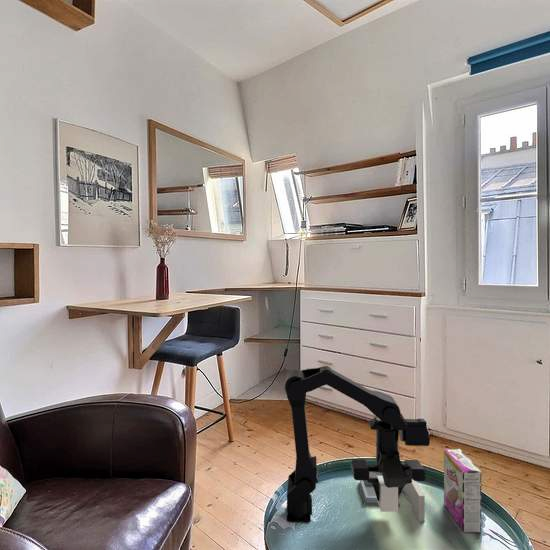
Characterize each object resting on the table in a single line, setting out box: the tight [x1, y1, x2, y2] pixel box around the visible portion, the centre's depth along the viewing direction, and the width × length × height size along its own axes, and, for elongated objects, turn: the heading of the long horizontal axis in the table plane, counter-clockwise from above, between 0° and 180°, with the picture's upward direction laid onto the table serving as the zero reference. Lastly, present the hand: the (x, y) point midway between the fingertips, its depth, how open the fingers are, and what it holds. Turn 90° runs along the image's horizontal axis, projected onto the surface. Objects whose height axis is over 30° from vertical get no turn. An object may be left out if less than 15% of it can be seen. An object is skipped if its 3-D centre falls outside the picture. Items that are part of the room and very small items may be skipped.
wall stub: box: [402, 479, 426, 522], centre depth 105 cm, size 2×15×7 cm, turn 177°
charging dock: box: [358, 480, 401, 507], centre depth 109 cm, size 10×10×2 cm
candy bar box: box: [443, 448, 482, 534], centre depth 98 cm, size 11×5×16 cm, turn 0°
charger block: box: [376, 475, 399, 513], centre depth 99 cm, size 4×4×7 cm
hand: (387, 500), depth 99 cm, fingers closed on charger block, 4 cm apart
